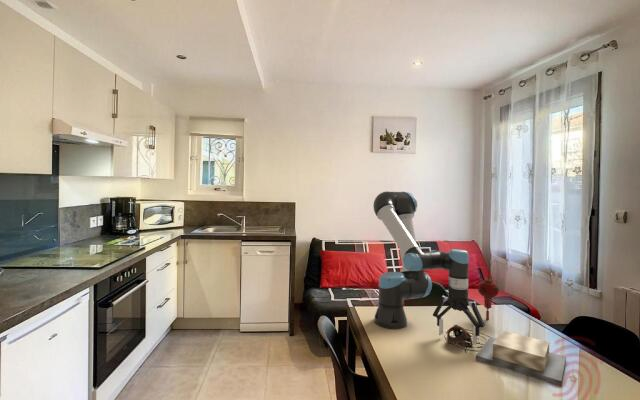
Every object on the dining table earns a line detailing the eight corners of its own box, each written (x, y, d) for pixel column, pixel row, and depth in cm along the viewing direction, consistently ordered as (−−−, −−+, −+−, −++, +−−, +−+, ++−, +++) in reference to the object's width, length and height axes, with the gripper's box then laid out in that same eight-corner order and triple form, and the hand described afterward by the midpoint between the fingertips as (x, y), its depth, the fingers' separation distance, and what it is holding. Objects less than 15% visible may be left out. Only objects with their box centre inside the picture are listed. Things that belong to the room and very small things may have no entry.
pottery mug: (478, 350, 134) (470, 334, 132) (455, 358, 135) (447, 343, 134) (467, 331, 145) (460, 316, 144) (446, 339, 147) (439, 324, 145)
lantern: (490, 324, 161) (492, 262, 160) (472, 317, 169) (474, 258, 168) (502, 321, 165) (504, 260, 165) (484, 314, 174) (486, 257, 173)
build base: (475, 359, 126) (476, 342, 125) (490, 340, 143) (490, 325, 142) (561, 385, 109) (561, 365, 109) (565, 360, 126) (566, 343, 126)
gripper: (425, 283, 144) (424, 333, 144) (488, 295, 128) (487, 350, 129) (432, 280, 150) (431, 328, 150) (493, 291, 134) (492, 344, 134)
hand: (457, 338), depth 139 cm, fingers open, 13 cm apart
